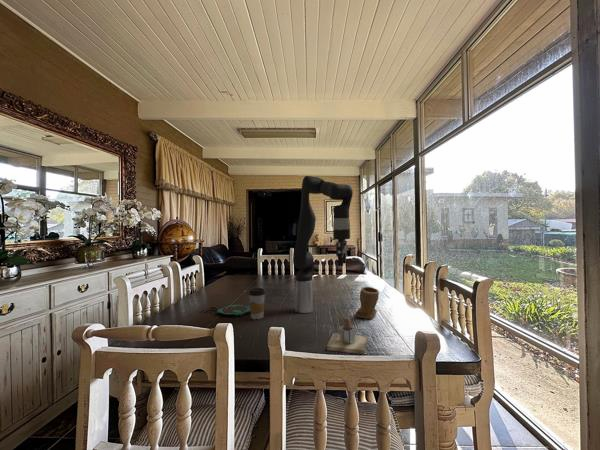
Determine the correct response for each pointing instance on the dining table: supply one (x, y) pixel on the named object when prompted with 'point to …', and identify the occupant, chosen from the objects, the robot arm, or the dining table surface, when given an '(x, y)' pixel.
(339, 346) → the post stand
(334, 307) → the dining table surface
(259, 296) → the coffee cup
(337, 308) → the dining table surface
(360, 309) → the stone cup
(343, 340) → the ring
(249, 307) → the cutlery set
